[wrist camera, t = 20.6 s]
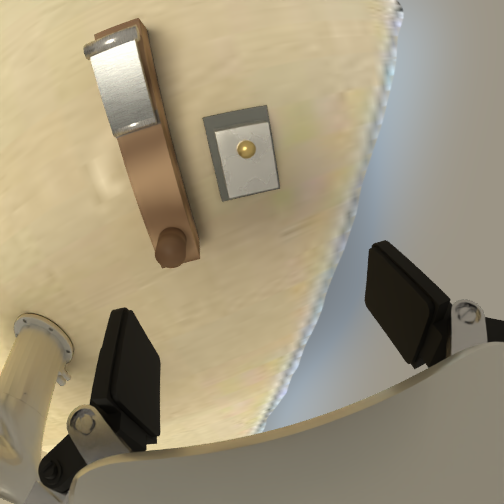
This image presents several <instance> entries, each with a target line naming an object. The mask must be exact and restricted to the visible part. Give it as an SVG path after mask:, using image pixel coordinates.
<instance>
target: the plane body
mask: <svg viewBox="0 0 504 504" xmlns="http://www.w3.org/2000/svg"><path fill="white" fill-rule="evenodd" d="M134 25H137V27H138V30H139V34H140V41H137V43H138V48H139V52H140V56H141V60H142V64H143V68H144V72H145V76H146V80H147V84H148V88H149V92H150V95H151V99H152V103H153V107H154V110H155V114H156V117H157V123H156V124H153V125H150V126H147V127H144V128H141V129H138V130H135V131H132V132H129V133H126V134H123V135H120V136H118V137H116V138H117V140H118V143H119V147H120V150H121V153H122V157H123V160H124V163H125V167H126V170H127V173H128V176H129V179H130V182H131V185H132V188H133V191H134V194H135V197H136V200H137V203H138V206H139V209H140V212H141V215H142V217H143V220H144V223H145V226H146V228H147V231H148V234H149V236H150V239H151V242H152V244H153V247H154V249H155V257H156V260H157V261H158V263H159V264H160V265H161V267H162V268H165V267H167V268H175V267H178V266H180V265H181V264H182V263H185V262H189V261H193V260H197V259H200V248H199V236H198V232H197V229H196V226H195V222H194V219H193V215H192V212H191V209H190V205H189V202H188V198H187V195H186V191H185V187H184V184H183V180H182V177H181V173H180V169H179V165H178V162H177V158H176V154H175V150H174V146H173V143H172V139H171V135H170V131H169V127H168V123H167V119H166V114H165V110H164V106H163V102H162V97H161V93H160V89H159V84H158V80H157V75H156V71H155V66H154V61H153V56H152V52H151V47H150V42H149V36H148V31H147V29H146V27H145V26H144V25H143V23H142V22H141V21H140V19H139V18H137V19H134V20H131V21H128V22H125V23H122V24H120V25H117V26H114V27H112V28H109V29H107V30H104V31H102V32H99V33H97V34H95V35H94V36H95V40H97V39H99V38H102V37H104V36H107V35H109V34H112V33H114V32H117V31H119V30H122V29H125V28H128V27H131V26H134Z"/></svg>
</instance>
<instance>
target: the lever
mask: <svg viewBox="0 0 504 504" xmlns="http://www.w3.org/2000/svg"><path fill="white" fill-rule="evenodd" d="M137 41H140V34H139V30H138V27H137V25H134V26H131V27H128V28H125V29H122V30H119V31H117V32H114V33H112V34H109V35H107V36H104V37H102V38H99V39H97V40H95V41H92V42H90V43H88V44H86V45H84V54H85V56H86V58H87V59H88V60H91V63H92V67H93V70H94V74H95V78H96V81H97V85H98V88H99V91H100V95H101V98H102V101H103V105H104V108H105V111H106V114H107V117H108V120H109V123H110V126H111V129H112V132H113V135H114V137H118V136H120V135H123V134H126V133H129V132H132V131H135V130H138V129H141V128H144V127H147V126H150V125H153V124H156V123H157V117H156V114H155V110H154V107H153V103H152V99H151V95H150V92H149V88H148V84H147V80H146V76H145V72H144V68H143V64H142V60H141V56H140V52H139V48H138V43H137Z"/></svg>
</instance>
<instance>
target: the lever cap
mask: <svg viewBox="0 0 504 504" xmlns="http://www.w3.org/2000/svg"><path fill="white" fill-rule="evenodd" d="M213 130H214V134H215V139H216V144H217V148H218V153H219V157H220V162H221V167H222V171H223V176H224V180H225V185H226V189H227V192H228V195H229V198H234V197H238V196H242V195H247V194H251V193H256V192H260V191H265V190H269V189H274V188H278V181H277V174H276V168H275V161H274V155H273V148H272V142H271V136H270V130H269V124H268V122H266V121H263V120H256V121H251V122H245V123H240V124H235V125H230V126H225V127H221V128H216V129H213Z"/></svg>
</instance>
